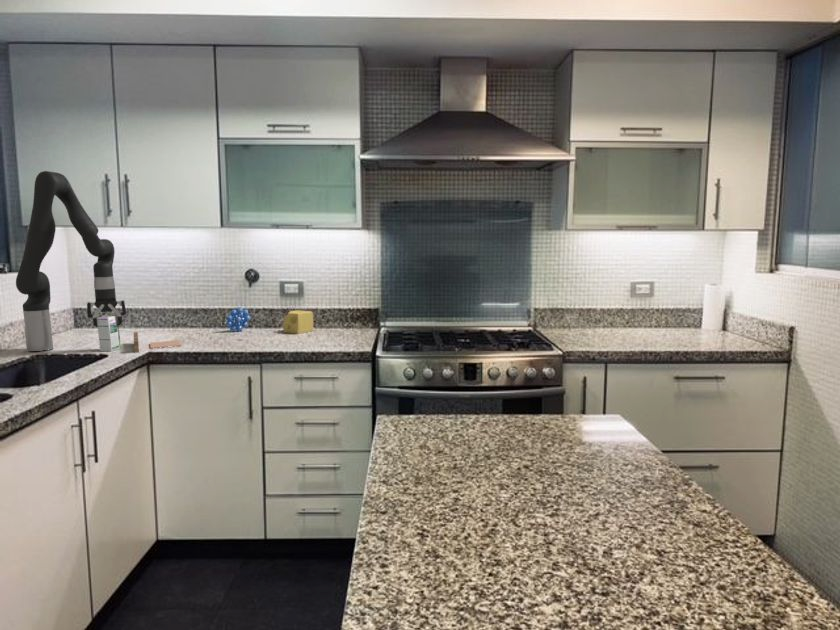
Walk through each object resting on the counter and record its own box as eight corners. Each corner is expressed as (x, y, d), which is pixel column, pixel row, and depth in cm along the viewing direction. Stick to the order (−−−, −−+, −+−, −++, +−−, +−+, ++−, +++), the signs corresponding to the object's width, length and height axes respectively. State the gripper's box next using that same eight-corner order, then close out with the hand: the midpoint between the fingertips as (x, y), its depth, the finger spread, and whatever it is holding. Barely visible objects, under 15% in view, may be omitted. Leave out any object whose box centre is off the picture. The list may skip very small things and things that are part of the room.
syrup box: (111, 351, 244) (108, 317, 242) (99, 351, 245) (96, 316, 243) (121, 348, 249) (118, 315, 247) (109, 348, 251) (106, 314, 248)
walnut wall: (139, 352, 242) (138, 340, 241) (134, 352, 241) (133, 340, 241) (138, 343, 262) (137, 332, 261) (134, 343, 261) (133, 332, 260)
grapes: (249, 329, 295) (248, 305, 293) (251, 331, 289) (250, 307, 287) (225, 331, 291) (224, 307, 289) (227, 333, 284) (225, 308, 283)
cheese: (283, 332, 286) (282, 312, 285) (299, 329, 295) (299, 309, 294) (298, 334, 281) (297, 313, 279) (314, 331, 289) (313, 311, 288)
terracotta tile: (150, 349, 248) (150, 347, 248) (150, 344, 259) (149, 342, 259) (181, 346, 254) (181, 345, 254) (179, 341, 264) (179, 340, 264)
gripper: (123, 286, 250) (127, 323, 252) (85, 287, 244) (89, 326, 246) (123, 287, 243) (126, 326, 245) (84, 289, 237) (88, 328, 239)
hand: (108, 326), depth 246 cm, fingers open, 8 cm apart
